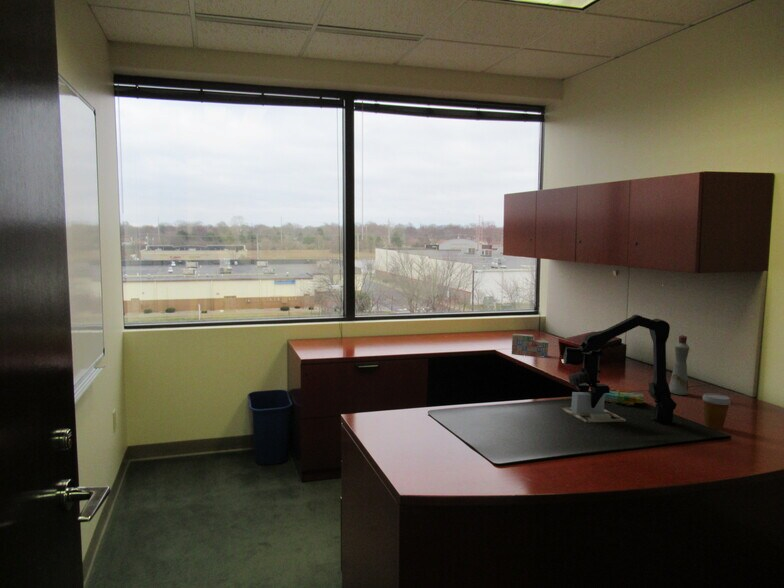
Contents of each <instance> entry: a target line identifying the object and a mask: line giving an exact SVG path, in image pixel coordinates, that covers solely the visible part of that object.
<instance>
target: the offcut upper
mask: <svg viewBox="0 0 784 588" xmlns="http://www.w3.org/2000/svg"><path fill="white" fill-rule="evenodd" d="M589 417H590V418H592V419H593V420H599V419H611V418H612V415H609V414H603V413H590V416H589Z"/></svg>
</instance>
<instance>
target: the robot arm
mask: <svg viewBox="0 0 784 588" xmlns="http://www.w3.org/2000/svg"><path fill="white" fill-rule="evenodd" d="M637 327H642V328H645V329H648V330H649V334H650V338H651V340H652V346H653V347H652V349H653V351H652V352H653V379H652V382H650V381H649V382H648V391H647V392H648V393H649V394H650V397H651V399H653V401H654V403H655V407H654V417H651V418H650V419H651V420H652V421H655V422H657V423H660V424H662V425H671V423H672V425H673V423H675V424H676V423H677V422H676V421H675V420H673V419H674V410H675V409H676V407H677V405H678V404H677V403H676V401H674V399H673V398H672V393H671V392H670V388H669V383H668V381H667V342H668V339H669V336H670V330H671V326H670V323H668V322H667V321H666V320H664V319H661V318H654V319H650V318H647V317H644V316H642V315H638V314H633V315H632V316H631V317H630V316H629V317H628V318H626V319H624V320H623V321H620V322H619V323H616V324H614V325H612V326H609V327H608V328H606V329H603V330H598V331H594V332H590V333H588V334H586V335H585V336H584V338H583V339H584V340H583V342H582V343H580V345H579V346H578V347H577V348H576V347H569V346H566V347H565V350H564V353H563V364H564V365H565V366H566V365H568V366H570V365H571V366H580V365H582V367H580V368H579V372H574V373H572V374H569V375H568V381H569V384H570V385H572V386H573V387H576V389H577V390H578V391H577V392H589V393H590V394H591V408H595V406H596V404H597V403H598V401H599V400H600V398H601V397H602V396H603V394H605V393H610V389H611V387H610V386H609V385H608V384H605V383H601V380H599V374H600V373H601V372H602V371H601V369H599V367H600V357H605V356H606V354H605V353H604V352H603V350H602V349H601V348H603V347H604V346H605V345H607V344H608V342H610V341H612V340H613V339H615V338H617V337H619V336H622V335H623V334H625V333H627V332H629V331H631V330H633V329H634V328H637Z"/></svg>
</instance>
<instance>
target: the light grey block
mask: <svg viewBox="0 0 784 588" xmlns="http://www.w3.org/2000/svg"><path fill="white" fill-rule="evenodd" d="M605 403H606V402H605V394H603V396H602V397H601V398H600V400H599V401H598V403H597V404H596V406H595V408H591V394H590V393H589V392H579V391H572V393H571V405H570V407H571V410H570V411H571V412H573V413H575V414H576V413H605V412H604V409H605Z"/></svg>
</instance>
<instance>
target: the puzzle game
mask: <svg viewBox="0 0 784 588" xmlns="http://www.w3.org/2000/svg"><path fill="white" fill-rule="evenodd" d="M644 395H645V394H644V393H641V392H633V391H627V390H621V389H616V388H613V387H610V393H605V401H609V402H617V403H624V404H631V405H633V406H634V405H635V403H636V404H643V403H644Z"/></svg>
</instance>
